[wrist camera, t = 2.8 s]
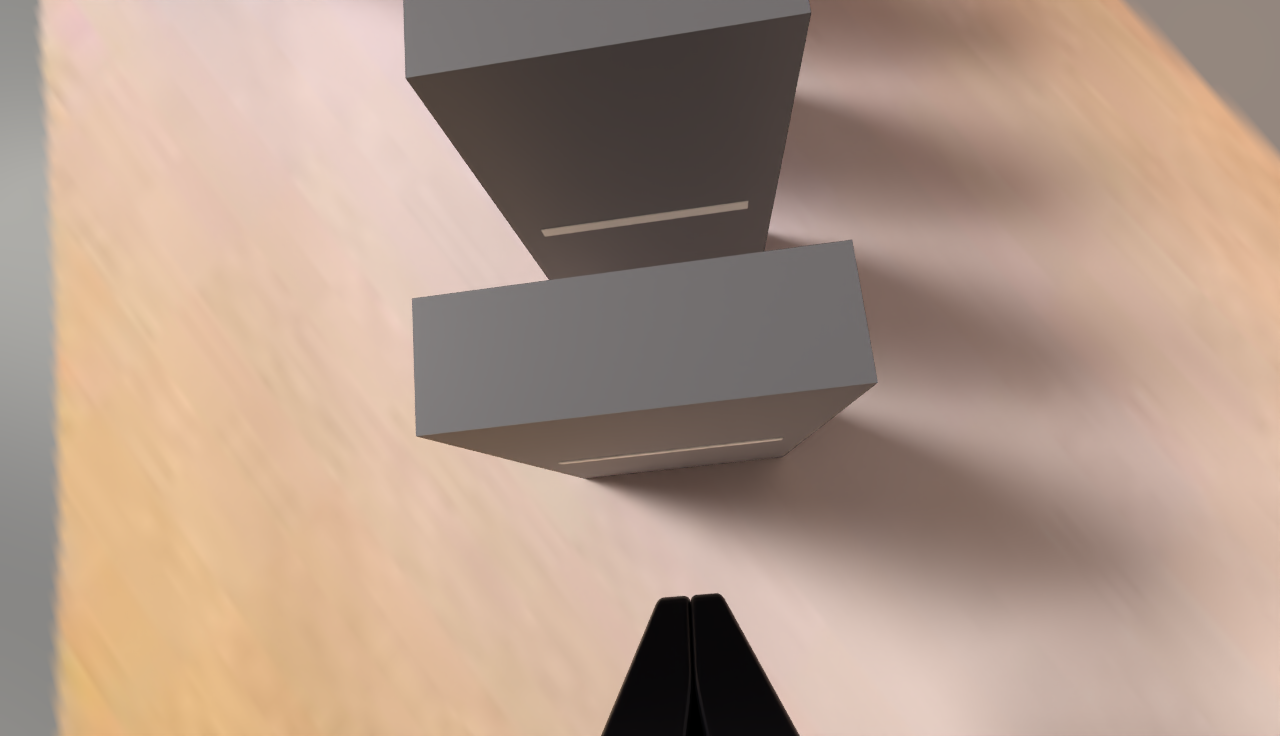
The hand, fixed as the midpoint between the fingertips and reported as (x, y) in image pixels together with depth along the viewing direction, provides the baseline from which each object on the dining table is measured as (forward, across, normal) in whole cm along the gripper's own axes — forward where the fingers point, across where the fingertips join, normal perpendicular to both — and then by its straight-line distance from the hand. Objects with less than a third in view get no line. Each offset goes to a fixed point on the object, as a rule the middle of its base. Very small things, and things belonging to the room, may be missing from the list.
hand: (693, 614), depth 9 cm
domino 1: (+11, 0, 0) cm, 11 cm away
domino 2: (+8, 0, +3) cm, 8 cm away
